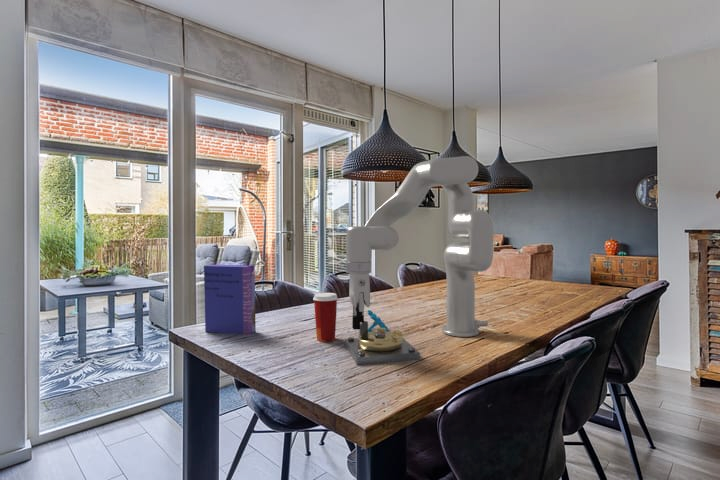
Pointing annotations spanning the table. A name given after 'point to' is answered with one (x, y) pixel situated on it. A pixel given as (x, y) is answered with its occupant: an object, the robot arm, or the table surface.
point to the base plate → (380, 353)
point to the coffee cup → (325, 316)
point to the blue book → (230, 299)
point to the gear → (376, 321)
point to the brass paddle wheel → (378, 339)
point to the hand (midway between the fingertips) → (358, 328)
